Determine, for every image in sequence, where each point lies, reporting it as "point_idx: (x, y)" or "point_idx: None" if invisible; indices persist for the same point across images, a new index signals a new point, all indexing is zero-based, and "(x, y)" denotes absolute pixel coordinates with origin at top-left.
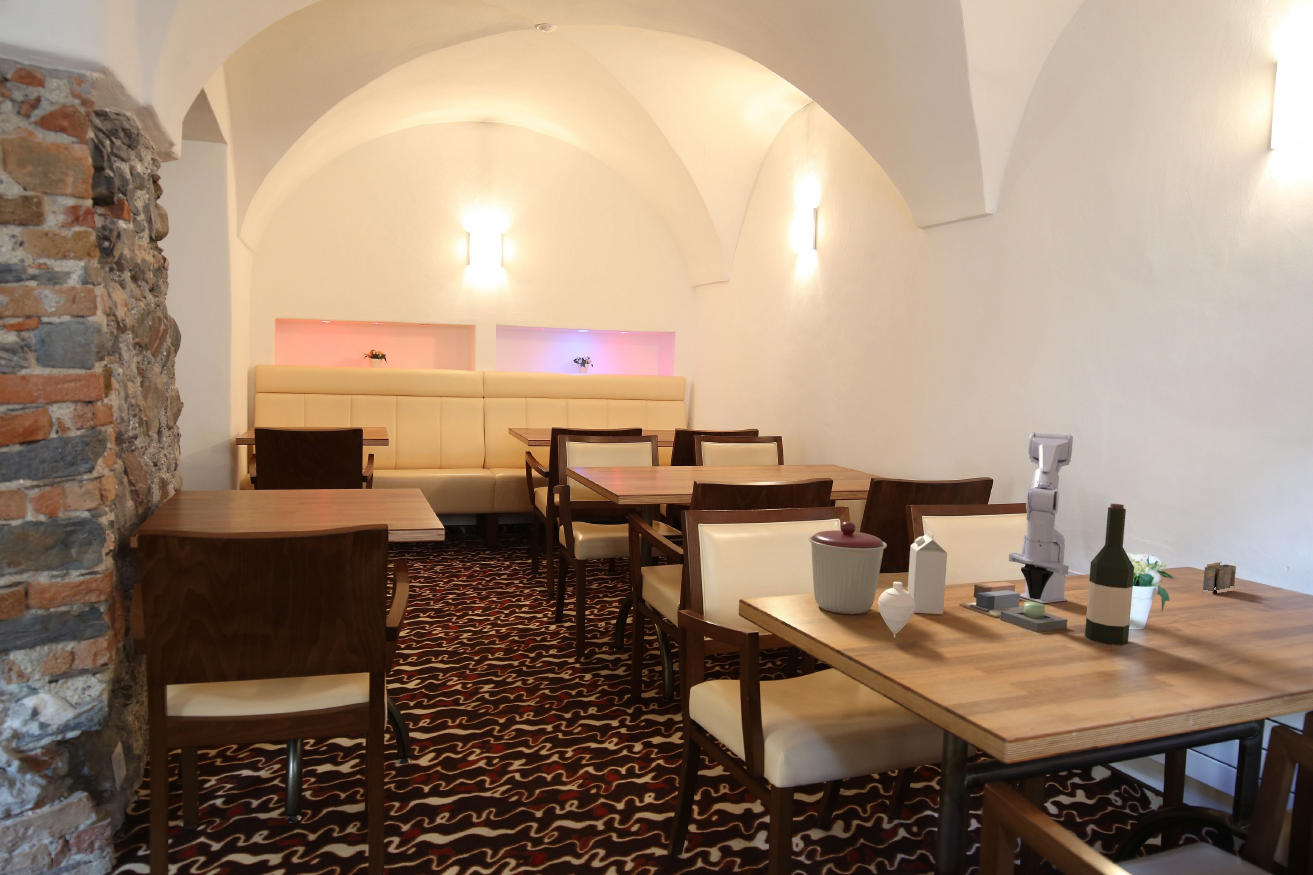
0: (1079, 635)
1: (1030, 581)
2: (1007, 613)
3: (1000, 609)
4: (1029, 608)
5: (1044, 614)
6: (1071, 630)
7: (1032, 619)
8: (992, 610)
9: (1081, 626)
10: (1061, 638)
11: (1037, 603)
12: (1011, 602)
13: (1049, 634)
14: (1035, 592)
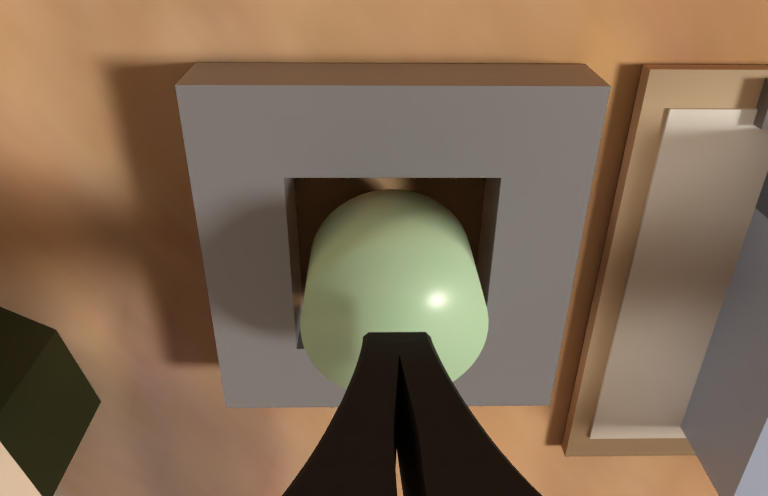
0: (71, 308)
1: (422, 464)
2: (528, 85)
3: (724, 262)
4: (374, 233)
5: None
6: (184, 349)
7: (294, 153)
8: (751, 177)
9: (246, 462)
10: (7, 118)
11: None
12: (719, 395)
13: (120, 116)
14: (351, 383)
